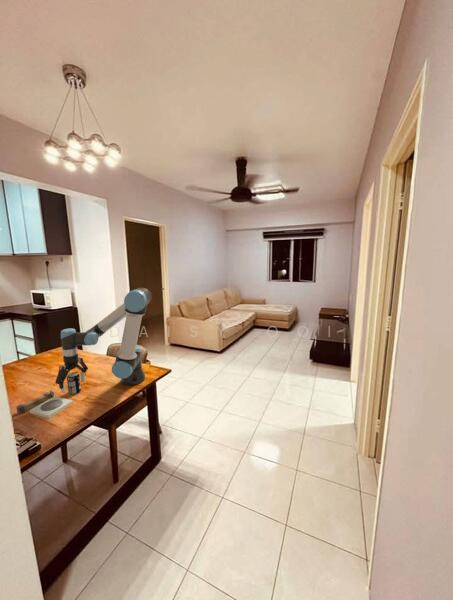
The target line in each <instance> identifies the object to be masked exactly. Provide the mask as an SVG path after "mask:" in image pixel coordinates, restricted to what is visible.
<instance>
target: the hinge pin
mask: <svg viewBox="0 0 453 600" xmlns="http://www.w3.org/2000/svg"><path fill="white" fill-rule="evenodd" d="M49 393H50V396H51V398H52V397H54V396H55V391H54V390H50V391H49Z"/></svg>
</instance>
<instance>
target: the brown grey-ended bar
mask: <svg viewBox="0 0 453 600" xmlns="http://www.w3.org/2000/svg"><path fill="white" fill-rule="evenodd" d="M49 399H51V396H50V392H48V391H47V392H45V393H43V395H40V396H38V397H36V398H33V399H31V400H29V401H26V402H24V403H23V404H20V405H17V406H16V412H17V413H18V414H19V415H21V414H23V413H25V412H27V411H30V410H31V409H33V408H35V407H36V406H38V405H40V404H42V403H44V402H45V401H47V400H49Z"/></svg>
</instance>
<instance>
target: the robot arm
mask: <svg viewBox="0 0 453 600" xmlns="http://www.w3.org/2000/svg"><path fill="white" fill-rule="evenodd" d="M151 301H152V292H151V291H150V290H149V289H148V288H145V287H137V288H135V289H132V290H131V291H129V292H128V293H127V294H126V295H125V297H124V299H123V304H121V305H119V306H118V307H117V308H115V309H114V310H113V311H112V312H110V313H109V314H108V315H107V316H105V317H104V318H102V320H100V321H99V322H97V324H95V325H94V326H92V327H91V328H89V329H88V330H86V331H84V332H77V331H76V329H75V328H69V327H68V328H65V329H62V330H61V331H60V341H61V348H62V351H61V352H62V358H63V363H64V365H59V366H58V367H59V368H58V373H57V375H56V379H55V382H54V383H55V384H57V385H58V386H59V389H60V392H61V393H62V394H66V392H67V391H66V383H65V380H66V379H67V375H68V374H69V373H71V371H73V370H74V369H77V370H79V371H80V374H79V375H80V383H81V382H82V383H86V381H87V380H86V375H87V374H86V373H87V372H88V369H89V367H88V366H87V365H86V363H85V362H84V360H83V357H79V353H78V352H79V351H78V346H95V345H97V344H98V342H99V338H100V337H102V336H103V335H104V334H105V333H107V332H108V331H109V330H110V329H112V328H113V327H114V326H116V325H117V324H118V323H120V322H121V321H123V320H124V319H125V321H124V326H123V328H124V329H123V332H122V333H123V334H122V337H121V343H120V348H119V351H118V352H117V353H116V355H115V359H114V360H115V361H114V363H113V364H112V365H111V374H112V375H114V377H116V378H118V379H120V381H121V384H122V385H124V386H135V385H139V384H141V383H142V382H144V381H145V380H146V374H145V372H144V370H143V365H142V350H141V347H140V346H137V344H138V340H139V339H138V338H139V333H140V329H141V324H142V318H143V316H145V315H146V312H147V307H148V305H149V304H150V302H151ZM80 365H81V366H80Z"/></svg>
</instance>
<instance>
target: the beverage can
mask: <svg viewBox="0 0 453 600" xmlns="http://www.w3.org/2000/svg"><path fill="white" fill-rule="evenodd" d="M66 381H67V382H66V383H67V389H68V394H70V395H71V396H72V395H77V394H79V393H80V392H81V390H82V386H81V374H79V372H78V371H73V372H69V373H68V375H67V376H66Z"/></svg>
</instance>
